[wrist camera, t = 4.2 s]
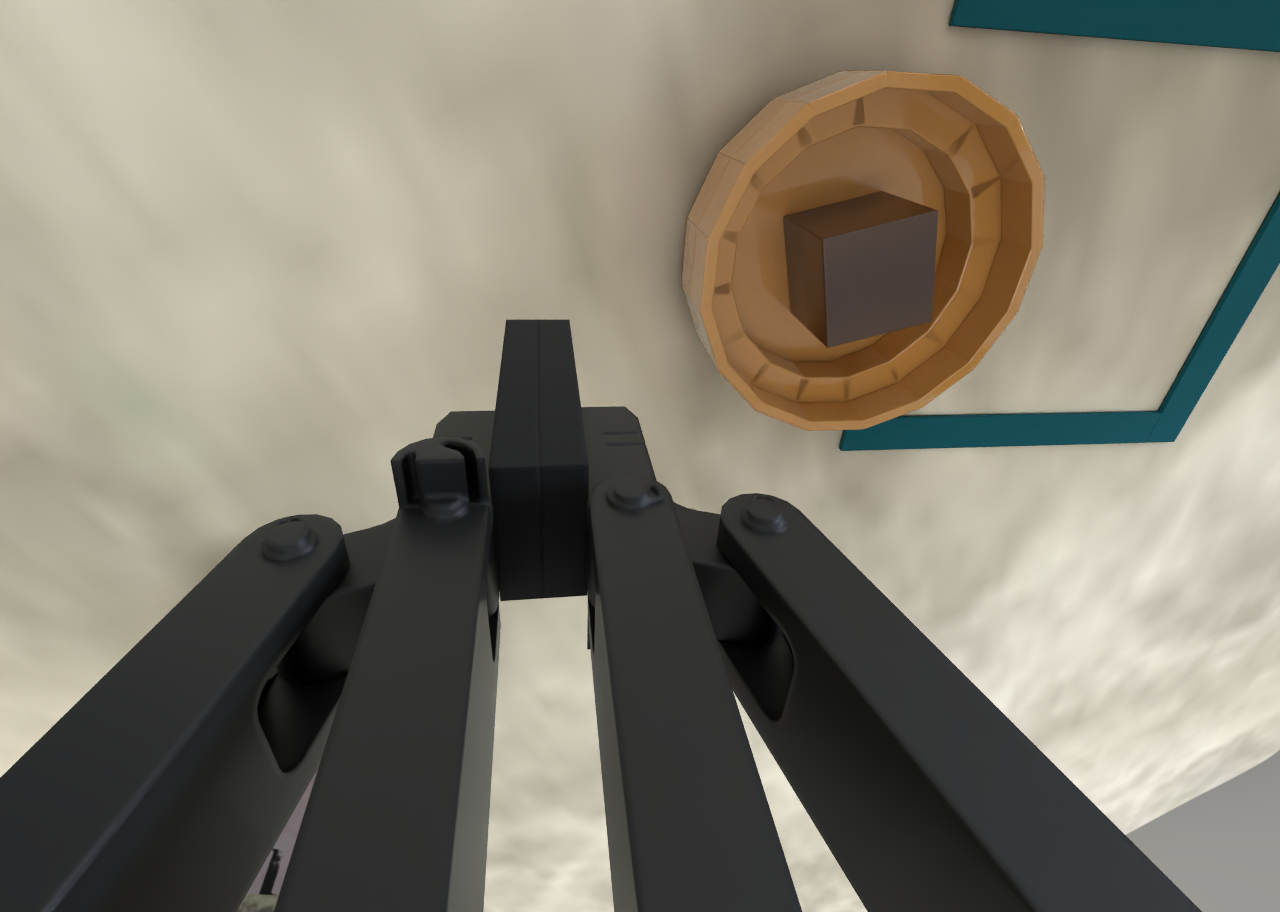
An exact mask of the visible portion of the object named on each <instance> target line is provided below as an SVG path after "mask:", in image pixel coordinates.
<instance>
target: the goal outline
mask: <svg viewBox="0 0 1280 912" xmlns="http://www.w3.org/2000/svg"><path fill="white" fill-rule="evenodd" d="M949 25H950V26H960V27H972V28H985V29H997V30H1010V31H1023V32H1035V33H1048V34H1060V35H1073V36H1086V37H1098V38H1111V39H1123V40H1136V41H1148V42H1161V43H1174V44H1186V45H1199V46H1211V47H1224V48H1237V49H1249V50H1262V51H1274V52H1280V0H955V4H954V8H953V12H952V15H951V19H950V23H949ZM1279 263H1280V194H1279V195H1278V197H1277V199H1276V201H1275V203H1274V204H1273V206H1272V208H1271V210H1270V212H1269V213H1268V215H1267V217H1266V219H1265V221H1264V222H1263V224H1262V226H1261V228H1260V229H1259V231H1258V233H1257V235H1256V237H1255V238H1254V240H1253V242H1252V244H1251V246H1250V247H1249V249H1248V251H1247V253H1246V255H1245V256H1244V258H1243V260H1242V262H1241V264H1240V265H1239V267H1238V269H1237V271H1236V273H1235V274H1234V276H1233V278H1232V280H1231V281H1230V283H1229V285H1228V287H1227V289H1226V290H1225V292H1224V294H1223V296H1222V298H1221V299H1220V301H1219V303H1218V305H1217V307H1216V308H1215V310H1214V312H1213V314H1212V316H1211V317H1210V319H1209V321H1208V323H1207V324H1206V326H1205V328H1204V330H1203V332H1202V333H1201V335H1200V337H1199V339H1198V341H1197V342H1196V344H1195V346H1194V348H1193V350H1192V351H1191V353H1190V355H1189V357H1188V359H1187V360H1186V362H1185V364H1184V366H1183V367H1182V369H1181V371H1180V373H1179V375H1178V376H1177V378H1176V380H1175V382H1174V384H1173V385H1172V387H1171V389H1170V391H1169V393H1168V394H1167V396H1166V398H1165V400H1164V402H1163V403H1162V405H1161V407H1160V409H1159V410H1158V411H1144V412H1092V413H1039V414H987V415H935V416H898V417H896V418H893V419H890V420H888V421H885V422H882V423H879V424H877V425H874V426H871V427H869V428H866V429H860V430H844V431H843V435H842V439H841V443H840V447H839V449H840V450H841V451H853V450H889V449H926V448H963V447H999V446H1036V445H1072V444H1109V443H1145V442H1174V441H1175V439H1176V438H1177V436H1178V434H1179V433H1180V431H1181V429H1182V427H1183V426H1184V424H1185V422H1186V421H1187V419H1188V417H1189V416H1190V414H1191V412H1192V411H1193V409H1194V407H1195V405H1196V404H1197V402H1198V400H1199V399H1200V397H1201V395H1202V394H1203V392H1204V390H1205V389H1206V387H1207V385H1208V383H1209V382H1210V380H1211V378H1212V377H1213V375H1214V373H1215V372H1216V370H1217V368H1218V367H1219V365H1220V363H1221V361H1222V360H1223V358H1224V356H1225V355H1226V353H1227V351H1228V350H1229V348H1230V346H1231V345H1232V343H1233V341H1234V339H1235V338H1236V336H1237V334H1238V333H1239V331H1240V329H1241V328H1242V326H1243V324H1244V323H1245V321H1246V319H1247V317H1248V316H1249V314H1250V312H1251V311H1252V309H1253V307H1254V306H1255V304H1256V302H1257V301H1258V299H1259V297H1260V295H1261V294H1262V292H1263V290H1264V289H1265V287H1266V285H1267V284H1268V282H1269V280H1270V279H1271V277H1272V275H1273V273H1274V272H1275V270H1276V268H1277V267H1278V265H1279Z"/></svg>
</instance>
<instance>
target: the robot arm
mask: <svg viewBox="0 0 1280 912" xmlns="http://www.w3.org/2000/svg"><path fill="white" fill-rule="evenodd" d="M391 466H392V471H393V476H394V482H395V487H396V492H397V497H398V503H399V510H398V513H397V516H396V518H395V519H393V520H391V521H388V522H386V523H384V524H381V525H378V526H375V527H372V528H368V529H364V530H360V531H356V532H352V533H348V534H344V535H343V533H342V530H341V526H340V525H339V524H338V523H337V522H335V521H334V520H333V519H332V518H328V517H324V516H321V515H317V514H316V515H295V516H290V517H285V518H282V519H278V520H275V521H273V522H271V523H268V524H266V525H264V526H262V527H259V528H258V529H257V530H255V531H254V532H252V533H251V534H250V535H248V536H247V537H246V538H244V539H243V540H242V541H241V542H240V543H239V544H238V545H237V546H236V547H235V548H234V549H233V550H232V551H231V552H230V553H229V554H228V555H227V556H226V557H225V558H224V559H223V560H222V561H221V562H220V563H219V564H218V565H217V566H216V567H215V568H214V569H213V570H212V571H211V572H210V573H209V574H208V575H207V576H206V577H205V578H204V579H203V580H202V581H201V582H200V583H199V584H197V585H196V586H195V587H194V588H193V589H192V590H191V591H190V592H189V593H188V594H187V595H186V596H185V597H184V598H183V599H182V600H181V601H180V602H179V603H178V604H177V605H176V606H175V607H174V608H173V609H172V610H171V611H170V612H169V613H168V614H167V615H166V616H165V617H164V618H163V619H162V620H161V621H160V622H159V623H158V624H157V625H156V626H155V627H154V628H153V629H152V630H151V631H150V632H149V633H148V634H147V635H146V636H145V637H143V638H142V639H141V640H140V641H139V642H138V643H137V644H136V645H135V646H134V647H133V648H132V649H131V650H130V651H129V652H128V653H127V654H126V655H125V656H124V657H123V658H122V659H121V660H120V661H119V662H118V663H117V664H116V665H115V666H114V667H113V668H112V669H111V670H110V671H109V672H108V673H107V674H106V675H105V676H104V677H103V678H102V679H101V680H100V681H99V682H98V683H97V684H96V685H95V686H94V687H93V688H92V689H91V690H89V691H88V692H87V693H86V694H85V695H84V696H83V697H82V698H81V699H80V700H79V701H78V702H77V703H76V704H75V705H74V706H73V707H72V708H71V709H70V710H69V711H68V712H67V713H66V714H65V715H64V716H63V717H62V718H61V719H60V720H59V721H58V722H57V723H56V724H55V725H54V726H53V727H52V728H51V729H50V730H49V731H48V732H47V733H46V734H45V735H44V736H43V737H42V738H41V739H40V740H39V741H38V742H37V743H35V744H34V745H33V746H32V747H31V748H30V749H29V750H28V751H27V752H26V753H25V754H24V755H23V756H22V757H21V758H20V759H19V760H18V761H17V762H16V763H15V764H14V765H13V766H12V767H11V768H10V769H9V770H8V771H7V772H6V773H5V774H4V775H3V776H2V777H1V778H0V912H237V910H238V908H239V907H240V905H241V903H242V901H243V900H244V898H245V896H246V894H247V893H248V891H249V889H250V887H251V885H252V884H253V882H254V880H255V878H256V877H257V875H258V873H259V871H260V870H261V868H262V866H263V864H264V863H265V861H266V859H267V857H268V856H269V854H270V852H271V850H272V849H273V847H274V845H275V843H276V842H277V840H278V838H279V836H280V835H281V833H282V831H283V829H284V827H285V826H286V824H287V822H288V820H289V819H290V817H291V815H292V813H293V812H294V810H295V808H296V806H297V805H298V803H299V801H300V799H301V798H302V796H303V794H304V792H305V791H306V789H307V787H308V785H309V784H310V782H311V780H312V778H313V777H314V775H315V773H316V771H317V769H318V771H317V774H316V777H315V780H314V784H313V787H312V790H311V793H310V796H309V800H308V803H307V806H306V809H305V813H304V816H303V819H302V822H301V825H300V829H299V832H298V835H297V838H296V842H295V845H294V848H293V851H292V854H291V858H290V861H289V864H288V867H287V871H286V874H285V877H284V880H283V883H282V887H281V890H280V893H279V896H278V899H277V903H276V906H275V909H274V912H483V907H484V890H485V874H486V857H487V841H488V824H489V808H490V791H491V775H492V759H493V742H494V726H495V709H496V693H497V676H498V660H499V644H500V627H501V623H500V612H499V590H500V600H501V601H507V600H523V599H538V598H554V597H569V596H585V595H587V590H588V642H587V649H591V659H592V670H593V681H594V692H595V703H596V714H597V726H598V737H599V748H600V759H601V770H602V781H603V792H604V803H605V814H606V825H607V836H608V847H609V858H610V869H611V880H612V891H613V902H614V912H802V910H801V906H800V903H799V900H798V897H797V894H796V891H795V887H794V884H793V881H792V878H791V875H790V871H789V868H788V865H787V862H786V859H785V856H784V852H783V849H782V846H781V843H780V840H779V837H778V833H777V830H776V827H775V824H774V821H773V817H772V814H771V811H770V808H769V805H768V802H767V798H766V795H765V792H764V789H763V786H762V783H761V779H760V776H759V773H758V770H757V767H756V763H755V760H754V757H753V754H752V751H751V748H750V744H749V741H748V738H747V735H746V732H745V729H744V725H743V722H742V719H741V716H740V713H739V709H738V706H737V703H736V700H735V697H734V694H733V691H734V693H735V695H736V696H737V698H738V700H739V701H740V703H741V705H742V706H743V708H744V709H745V711H746V713H747V714H748V716H749V718H750V719H751V721H752V723H753V724H754V726H755V727H756V729H757V731H758V732H759V734H760V736H761V737H762V739H763V741H764V742H765V744H766V746H767V747H768V749H769V750H770V752H771V754H772V755H773V757H774V759H775V760H776V762H777V764H778V765H779V767H780V768H781V770H782V772H783V773H784V775H785V777H786V778H787V780H788V782H789V783H790V785H791V786H792V788H793V790H794V791H795V793H796V795H797V796H798V798H799V800H800V801H801V803H802V805H803V806H804V808H805V809H806V811H807V813H808V814H809V816H810V818H811V819H812V821H813V823H814V824H815V826H816V827H817V829H818V831H819V832H820V834H821V836H822V837H823V839H824V841H825V842H826V844H827V846H828V847H829V849H830V850H831V852H832V854H833V855H834V857H835V859H836V860H837V862H838V864H839V865H840V867H841V868H842V870H843V872H844V873H845V875H846V877H847V878H848V880H849V882H850V883H851V885H852V887H853V888H854V890H855V891H856V893H857V895H858V896H859V898H860V900H861V901H862V903H863V905H864V906H865V908H866V909H867V911H868V912H1202V911H1201V910H1200V909H1199V908H1198V907H1197V906H1195V904H1194V903H1193V902H1192V901H1191V900H1190V899H1189V898H1188V897H1187V896H1185V894H1183V892H1182V891H1181V890H1180V889H1179V888H1178V887H1176V885H1175V884H1174V883H1173V882H1172V881H1171V880H1170V879H1168V877H1167V876H1166V875H1165V874H1164V873H1163V872H1162V871H1161V870H1160V869H1159V868H1158V867H1157V866H1156V865H1155V864H1154V863H1152V861H1151V860H1149V858H1147V856H1146V855H1145V854H1144V853H1143V852H1142V851H1141V850H1139V848H1138V847H1137V846H1135V845H1134V844H1133V842H1132V841H1131V840H1129V838H1127V836H1125V835H1124V834H1123V833H1122V832H1121V831H1120V830H1119V829H1118V828H1117V827H1116V826H1115V825H1114V824H1113V823H1112V822H1111V821H1110V820H1109V819H1108V818H1107V817H1106V816H1105V815H1104V814H1103V813H1102V812H1101V811H1100V810H1099V809H1098V808H1097V807H1096V806H1095V805H1094V804H1093V803H1092V802H1091V801H1090V800H1089V799H1088V798H1087V797H1086V796H1085V795H1084V794H1083V793H1082V792H1081V791H1080V790H1079V789H1078V788H1077V787H1076V786H1075V785H1074V784H1073V783H1072V782H1071V781H1070V780H1069V779H1068V778H1067V777H1066V776H1065V775H1064V774H1063V773H1062V772H1061V771H1060V770H1059V769H1058V768H1057V767H1056V766H1055V765H1054V764H1053V763H1052V762H1051V761H1050V760H1049V759H1048V758H1047V757H1046V756H1045V755H1044V754H1043V753H1042V752H1041V751H1040V750H1039V749H1038V748H1037V747H1036V746H1035V745H1034V744H1033V743H1032V742H1031V741H1030V740H1029V739H1028V738H1027V737H1026V736H1025V735H1024V734H1023V733H1022V732H1021V731H1020V730H1019V729H1018V728H1017V727H1016V726H1015V725H1014V724H1013V723H1012V722H1011V721H1010V720H1009V719H1008V718H1007V717H1006V716H1005V715H1004V714H1003V713H1002V712H1001V711H1000V710H999V709H998V708H997V707H996V706H995V705H994V704H993V703H992V702H991V701H990V700H989V699H988V698H987V697H986V696H985V695H984V694H983V693H982V692H981V691H980V690H979V689H978V688H977V687H976V686H975V685H974V684H973V683H972V682H971V681H970V680H969V679H968V678H967V677H966V676H965V675H964V674H963V673H962V672H961V671H960V670H959V669H958V668H957V667H956V666H955V665H954V664H953V663H952V662H951V661H950V660H949V659H948V658H947V657H946V656H945V655H944V654H943V653H942V652H941V651H940V650H939V649H938V648H937V647H936V646H935V645H934V644H933V643H932V642H931V641H930V640H929V639H928V638H927V637H926V636H925V635H924V634H923V633H922V632H921V631H920V630H919V629H918V628H917V627H916V626H915V625H914V624H913V623H912V622H911V621H910V620H909V619H908V618H907V617H906V616H905V615H904V614H903V613H902V612H901V611H900V610H899V609H898V608H897V607H896V606H895V605H894V604H893V603H892V602H891V601H890V600H889V599H888V598H887V597H886V596H885V595H884V594H883V593H882V592H881V591H880V590H879V589H878V588H877V587H876V586H875V585H874V584H873V583H872V582H871V581H870V580H869V579H868V578H867V577H866V576H865V575H864V574H863V573H862V572H861V571H860V570H859V569H858V568H857V567H856V566H855V565H854V564H853V563H852V562H851V561H850V560H849V559H848V558H847V557H846V556H845V555H844V554H843V553H842V552H841V551H840V550H839V549H838V548H837V547H836V546H835V545H834V544H833V543H832V542H831V541H830V540H829V539H828V538H827V537H826V536H825V535H824V534H823V533H822V532H821V531H820V530H819V529H818V528H817V527H816V526H815V525H814V524H813V523H812V522H811V521H810V520H809V519H808V518H807V517H806V516H805V515H804V514H803V513H802V512H800V511H799V510H798V509H797V508H795V507H794V506H793V505H791V504H790V503H789V502H787V501H784V500H782V499H779V498H777V497H774V496H770V495H764V494H758V493H754V494H741V495H739V496H736V497H733V498H730V499H729V500H728V501H727V502H726V503H725V504H724V505H723V506H722V510H721V515H720V514H714V513H708V512H702V511H697V510H693V509H689V508H686V507H683V506H681V505H678V504H676V503H674V502H673V500H672V497H671V494H670V493H669V491H668V490H667V488H666V487H665V486H664V485H662V484H661V483H659V482H657V481H656V477H655V474H654V471H653V467H652V464H651V460H650V457H649V454H648V450H647V447H646V445H645V440H644V437H643V434H642V430H641V427H640V423H639V420H638V418H637V417H636V416H635V415H634V414H633V413H632V412H630V411H629V410H628V409H627V408H626V407H581V404H580V396H579V389H578V381H577V374H576V367H575V359H574V352H573V344H572V337H571V329H570V322H569V320H506V327H505V335H504V343H503V351H502V359H501V368H500V376H499V384H498V392H497V401H496V409H495V411H459V412H450V413H449V414H448V415H447V416H446V417H444V418H443V419H442V420H441V421H440V422H439V423H438V424H437V425H436V429H435V432H434V436H433V438H429V439H424V440H421V441H418V442H415V443H412V444H409V445H408V446H406V447H404V448H403V449H401V450H399V451H398V452H397V453H396V454H395V456H394V457H393V458H392V460H391Z"/></svg>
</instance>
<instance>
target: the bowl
mask: <svg viewBox="0 0 1280 912" xmlns="http://www.w3.org/2000/svg"><path fill="white" fill-rule="evenodd" d="M880 191H884V192H887V193H890V194H892V195H895V196H898V197H901V198H904V199H907V200H910V201H913V202H916V203H918V204H921V205H924V206H927V207H930V208H933V209H936V210H938V224H937V242H936V259H935V277H934V294H933V312H932V322H929V323H925V324H921V325H917V326H913V327H909V328H905V329H901V330H897V331H893V332H889V333H885V334H881V335H877V336H873V337H870V338H866V339H862V340H858V341H854V342H850V343H846V344H842V345H838V346H834V347H830V348H827V347H826V346H825V345H824V344H823V343H822V342H821V341H820V340H819V339H817V338H816V337H815V336H814V335H813V334H812V333H811V332H810V331H809V330H808V329H807V328H806V327H805V326H804V325H803V324H802V323H801V322H800V321H799V320H798V319H797V318H796V317H795V316H794V315H793V314H792V313H791V312H790V299H789V286H788V273H787V260H786V247H785V234H784V221H783V217H784V216H785V215H789V214H793V213H797V212H801V211H805V210H809V209H813V208H817V207H821V206H825V205H829V204H833V203H837V202H841V201H845V200H848V199H852V198H856V197H860V196H864V195H868V194H872V193H876V192H880ZM1043 217H1044V175H1043V173H1042V170H1041V168H1040V166H1039V163H1038V161H1037V159H1036V157H1035V154H1034V152H1033V150H1032V148H1031V145H1030V143H1029V141H1028V139H1027V136H1026V134H1025V132H1024V129H1023V127H1022V125H1021V123H1020V120H1019V118H1018V116H1016V114H1015V113H1014V112H1012V111H1011V110H1009V109H1008V108H1006V107H1005V106H1004V105H1002V104H1001V103H999V102H998V101H997V100H995V99H994V98H992V97H991V96H989V95H988V94H987V93H985V92H984V91H982V90H981V89H979V88H978V87H977V86H975V85H974V84H972V83H971V82H970V81H968V80H967V79H965V78H964V77H961V76H958V75H943V74H928V73H913V72H898V71H841V72H837V73H835V74H832V75H830V76H827V77H825V78H823V79H820V80H818V81H815V82H813V83H810V84H808V85H806V86H803V87H801V88H798V89H796V90H793V91H791V92H789V93H786V94H784V95H781V96H779V97H776V98H775V99H774V100H771V101H770V102H769V103H768V104H767V105H766V106H765V107H764V108H763V109H762V110H761V111H760V112H759V113H758V114H757V115H756V116H755V117H754V118H753V119H752V120H751V121H750V122H749V123H748V124H747V125H746V126H745V127H744V128H743V129H742V130H741V131H739V132H738V133H737V134H736V135H735V136H734V137H733V138H732V139H731V140H730V141H729V142H728V143H727V144H726V145H725V146H724V147H723V148H722V149H721V150H720V151H719V153H718V154H717V156H716V159H715V161H714V163H713V165H712V167H711V169H710V171H709V173H708V175H707V177H706V180H705V182H704V184H703V186H702V188H701V190H700V192H699V194H698V196H697V198H696V200H695V203H694V205H693V207H692V209H691V211H690V213H689V215H688V220H687V226H686V237H685V248H684V260H683V271H682V287H683V290H684V294H685V297H686V300H687V303H688V306H689V309H690V312H691V316H692V319H693V322H694V325H695V328H696V331H697V334H698V337H699V339H700V341H701V342H702V344H703V346H704V347H705V349H706V351H707V352H708V354H709V356H710V357H711V359H712V361H713V362H714V364H715V366H716V368H717V369H718V371H719V372H720V373H721V374H722V375H723V376H724V377H725V379H726V380H727V381H728V382H729V383H730V384H731V385H732V386H733V387H734V388H735V389H736V390H737V391H738V392H739V394H740V395H741V396H742V397H743V398H744V399H745V400H746V401H747V402H748V403H749V404H750V405H751V406H752V408H753V409H754V410H756V411H757V412H760V413H762V414H765V415H768V416H770V417H773V418H775V419H778V420H780V421H783V422H785V423H788V424H791V425H793V426H796V427H798V428H801V429H803V430H807V431H814V430H860V429H866V428H869V427H871V426H874V425H877V424H879V423H882V422H885V421H888V420H890V419H893V418H896V417H898V416H901V415H904V414H907V413H909V412H912V411H915V410H917V409H920V408H922V407H923V406H925V405H926V404H927V403H929V402H930V401H932V400H933V399H934V398H936V397H937V396H938V395H940V394H941V393H942V392H944V391H945V390H946V389H948V388H949V387H950V386H952V385H953V384H954V383H956V382H957V381H958V380H960V379H961V378H962V377H964V376H965V375H966V374H968V373H969V372H970V371H972V370H973V369H974V368H975V367H976V366H977V364H978V363H979V362H980V360H981V359H982V358H983V357H984V355H985V354H986V353H987V351H988V350H989V349H990V347H991V346H992V345H993V344H994V342H995V341H996V340H997V338H998V337H999V336H1000V335H1001V333H1002V332H1003V331H1004V329H1005V328H1006V327H1007V325H1008V324H1009V323H1010V322H1011V320H1012V319H1013V318H1014V316H1015V315H1016V313H1017V312H1018V309H1019V307H1020V304H1021V301H1022V299H1023V296H1024V294H1025V291H1026V289H1027V286H1028V283H1029V281H1030V278H1031V276H1032V273H1033V270H1034V268H1035V265H1036V263H1037V260H1038V257H1039V255H1040V252H1041V250H1042V246H1043Z"/></svg>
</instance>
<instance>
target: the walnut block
mask: <svg viewBox="0 0 1280 912" xmlns="http://www.w3.org/2000/svg"><path fill="white" fill-rule="evenodd" d="M783 221H784V234H785V247H786V260H787V273H788V286H789V299H790V312H791V313H792V314H793V315H794V316H795V317H796V318H797V319H798V320H799V321H800V322H801V323H802V324H803V325H804V326H805V327H806V328H807V329H808V330H809V331H810V332H811V333H812V334H813V335H814V336H815V337H816V338H817V339H819V340H820V341H821V342H822V343H823V344H824V345H825V346H826V347H827V348H830V347H834V346H838V345H842V344H846V343H850V342H854V341H858V340H862V339H866V338H870V337H873V336H877V335H881V334H885V333H889V332H893V331H897V330H901V329H905V328H909V327H913V326H917V325H921V324H925V323H929V322H932V312H933V294H934V277H935V259H936V242H937V224H938V210H936V209H933V208H930V207H927V206H924V205H921V204H918V203H916V202H913V201H910V200H907V199H904V198H901V197H898V196H895V195H892V194H890V193H887V192H884V191H880V192H876V193H872V194H868V195H864V196H860V197H856V198H852V199H848V200H845V201H841V202H837V203H833V204H829V205H825V206H821V207H817V208H813V209H809V210H805V211H801V212H797V213H793V214H789V215H785V216H784V217H783Z"/></svg>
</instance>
